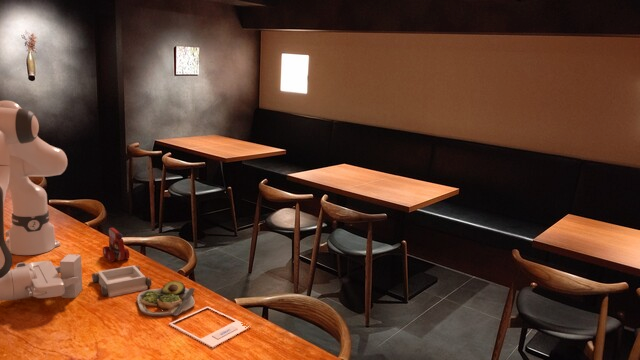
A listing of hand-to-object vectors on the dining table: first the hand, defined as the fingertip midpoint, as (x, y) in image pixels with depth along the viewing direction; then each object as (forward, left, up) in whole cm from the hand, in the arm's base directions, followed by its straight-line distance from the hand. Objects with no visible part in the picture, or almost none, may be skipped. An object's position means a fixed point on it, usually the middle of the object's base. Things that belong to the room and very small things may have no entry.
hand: (74, 273), depth 157 cm
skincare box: (0, -1, -7) cm, 7 cm away
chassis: (0, +14, -7) cm, 16 cm away
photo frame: (+39, +27, -7) cm, 48 cm away
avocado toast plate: (+19, +22, -7) cm, 30 cm away
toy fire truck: (-23, +19, -7) cm, 31 cm away
